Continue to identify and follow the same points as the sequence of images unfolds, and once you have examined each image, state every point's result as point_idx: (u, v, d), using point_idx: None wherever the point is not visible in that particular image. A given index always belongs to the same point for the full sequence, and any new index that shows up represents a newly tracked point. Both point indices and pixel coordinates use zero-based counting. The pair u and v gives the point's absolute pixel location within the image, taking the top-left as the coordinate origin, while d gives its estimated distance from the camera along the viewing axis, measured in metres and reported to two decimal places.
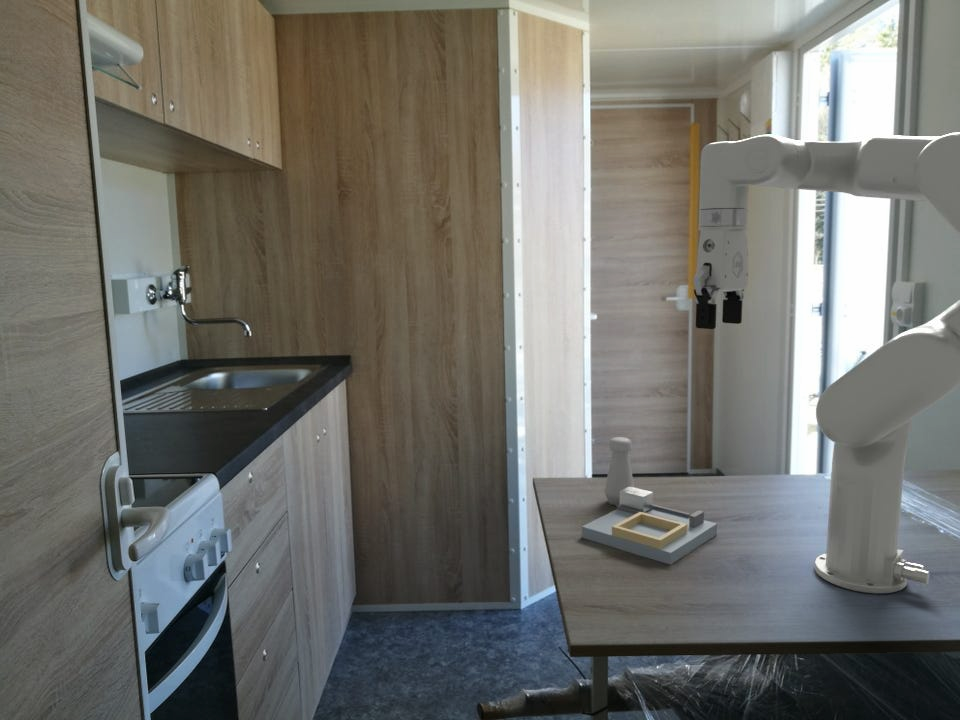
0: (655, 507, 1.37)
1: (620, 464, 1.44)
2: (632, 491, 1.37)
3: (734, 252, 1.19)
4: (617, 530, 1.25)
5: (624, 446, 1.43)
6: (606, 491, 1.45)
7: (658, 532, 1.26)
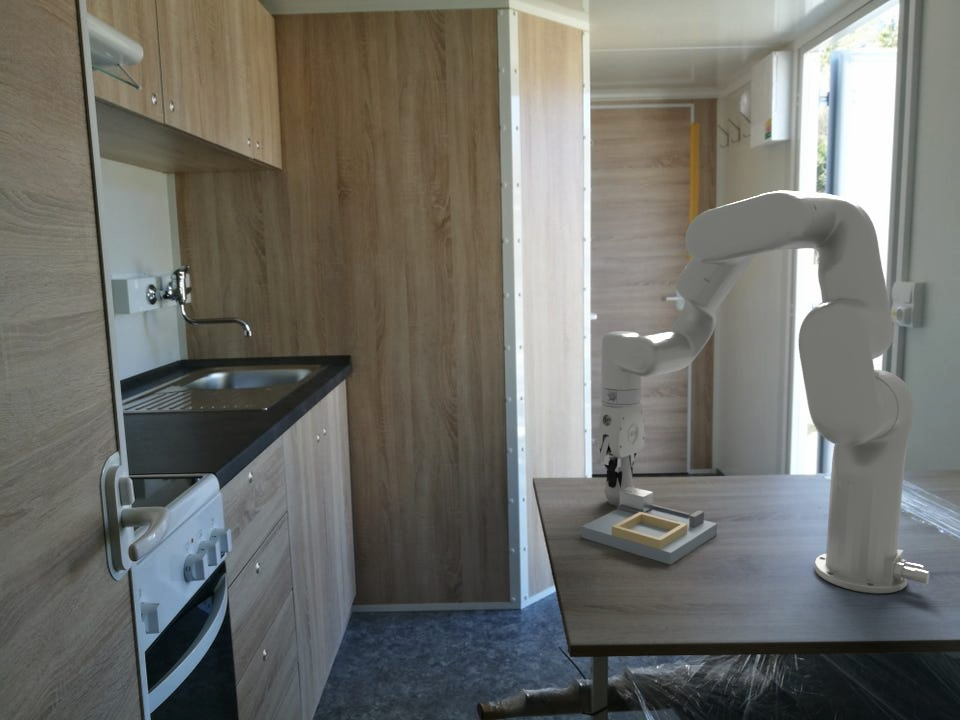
0: (655, 507, 1.37)
1: None
2: (632, 491, 1.37)
3: (629, 424, 1.41)
4: (617, 530, 1.25)
5: None
6: (606, 491, 1.45)
7: (658, 532, 1.26)
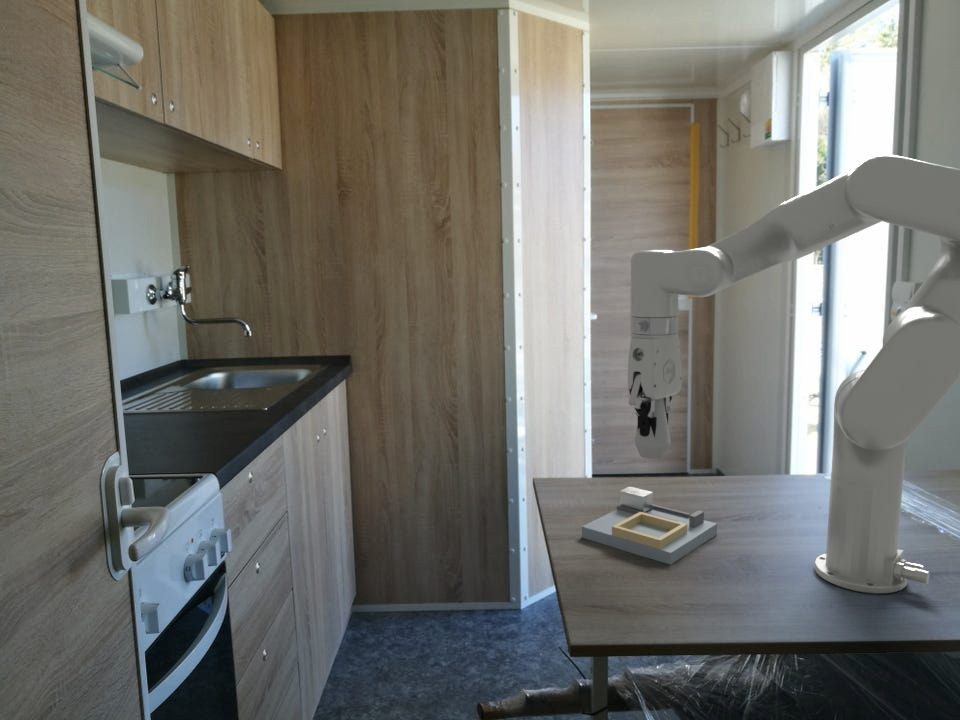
0: (655, 507, 1.37)
1: None
2: (632, 491, 1.37)
3: (665, 360, 1.18)
4: (617, 530, 1.25)
5: None
6: (637, 441, 1.22)
7: (658, 532, 1.26)
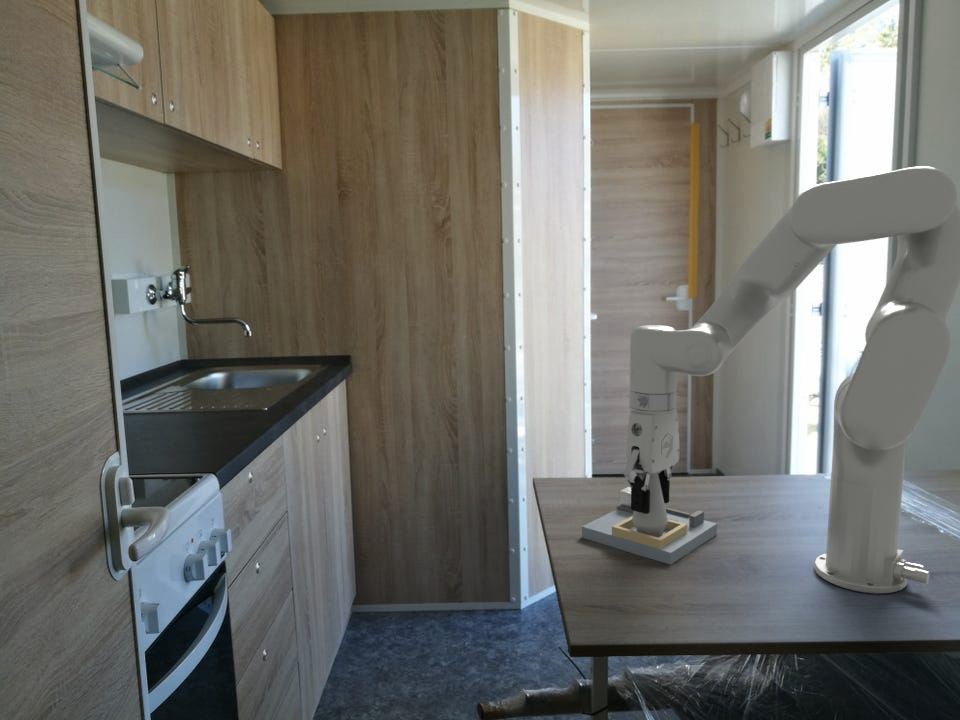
0: None
1: (649, 489, 1.23)
2: None
3: (663, 434, 1.20)
4: (617, 530, 1.25)
5: None
6: (634, 521, 1.24)
7: None
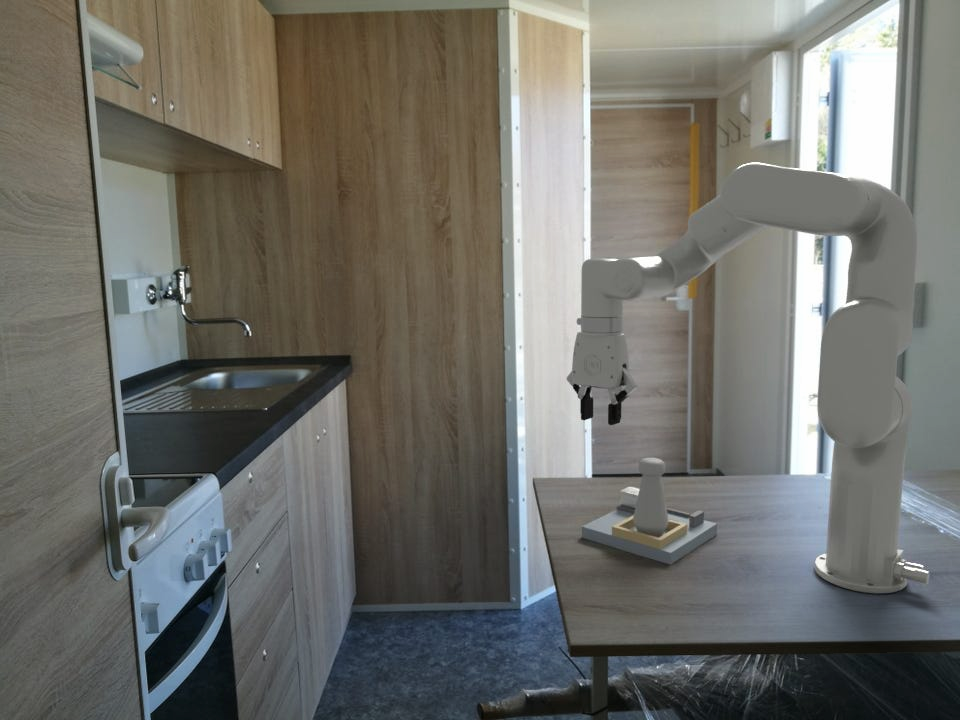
0: None
1: (652, 489, 1.23)
2: (632, 491, 1.37)
3: (586, 353, 1.37)
4: (617, 530, 1.25)
5: (657, 469, 1.22)
6: (635, 521, 1.24)
7: None
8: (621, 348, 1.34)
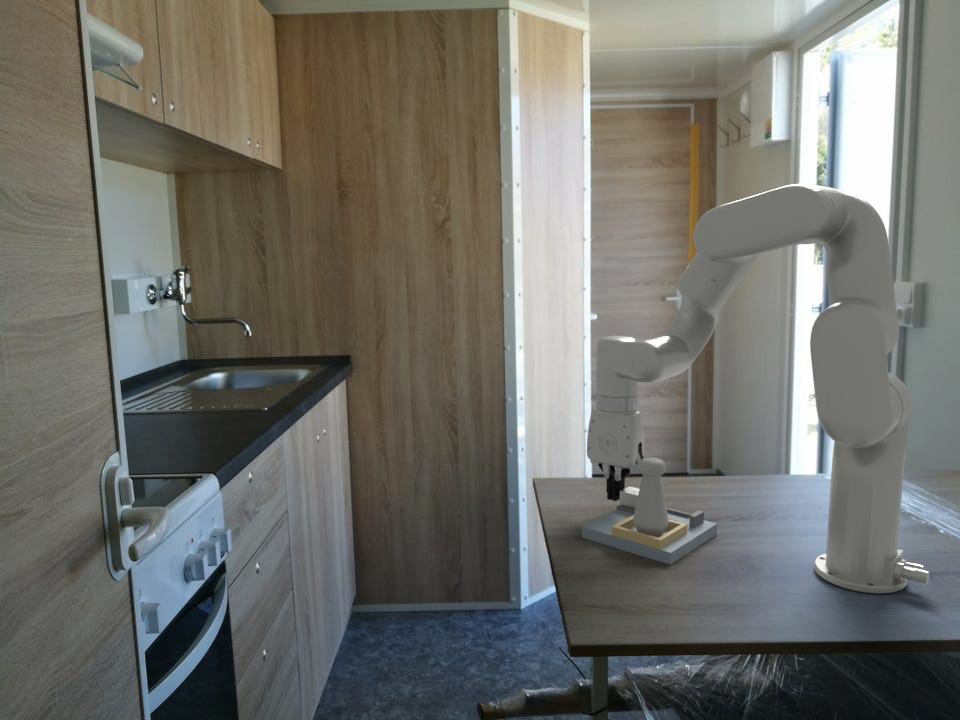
0: None
1: (652, 489, 1.23)
2: (632, 491, 1.37)
3: (601, 431, 1.37)
4: (617, 530, 1.25)
5: (657, 469, 1.22)
6: (635, 521, 1.24)
7: None
8: (637, 427, 1.34)
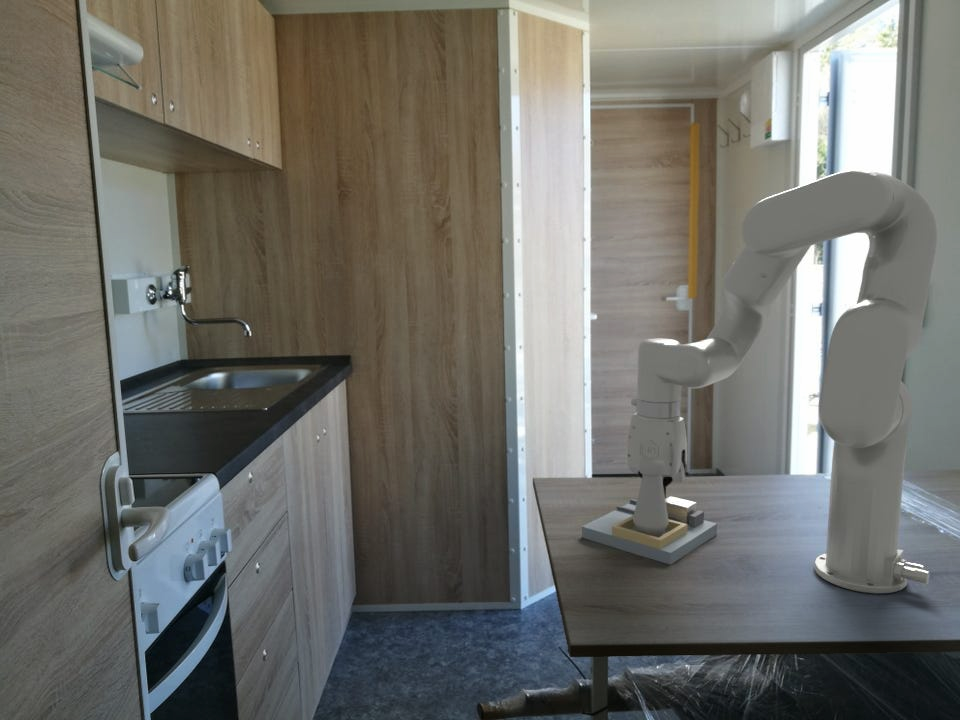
0: None
1: (652, 489, 1.23)
2: (674, 501, 1.31)
3: (643, 437, 1.31)
4: (617, 530, 1.25)
5: (657, 469, 1.22)
6: (635, 521, 1.24)
7: None
8: (680, 434, 1.28)
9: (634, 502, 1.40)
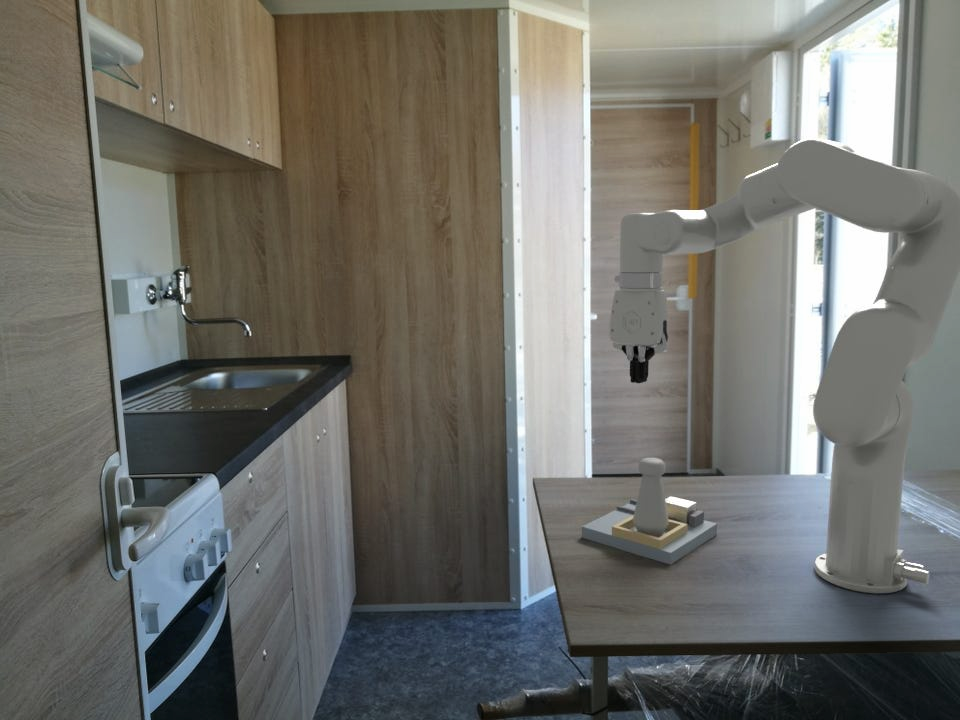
0: None
1: (652, 489, 1.23)
2: (674, 501, 1.31)
3: (625, 310, 1.35)
4: (617, 530, 1.25)
5: (657, 469, 1.22)
6: (635, 521, 1.24)
7: None
8: (662, 304, 1.32)
9: (634, 502, 1.40)
